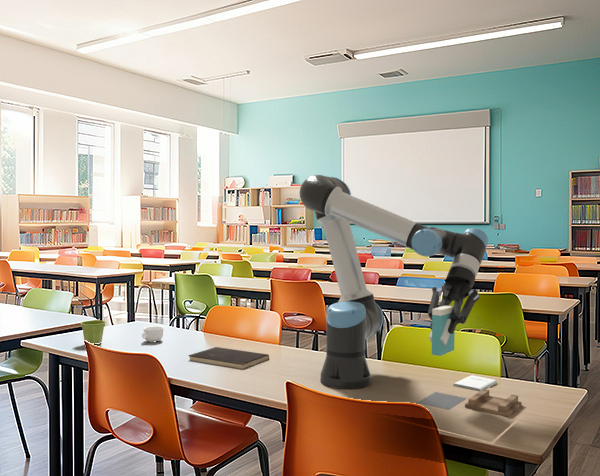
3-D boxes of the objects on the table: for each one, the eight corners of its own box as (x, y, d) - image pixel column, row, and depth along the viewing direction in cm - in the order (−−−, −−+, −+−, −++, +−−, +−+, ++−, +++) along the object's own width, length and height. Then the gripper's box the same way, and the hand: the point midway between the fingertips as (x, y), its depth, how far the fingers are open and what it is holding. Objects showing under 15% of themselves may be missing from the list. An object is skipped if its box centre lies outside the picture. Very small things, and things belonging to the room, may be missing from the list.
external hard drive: (453, 388, 162) (470, 379, 172) (480, 394, 157) (496, 384, 166) (453, 383, 162) (470, 374, 172) (480, 388, 157) (496, 379, 166)
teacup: (153, 338, 227) (153, 325, 227) (167, 340, 224) (167, 327, 224) (135, 343, 219) (135, 329, 219) (149, 345, 215) (149, 331, 215)
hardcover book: (242, 370, 180) (242, 363, 180) (188, 361, 192) (188, 355, 192) (269, 360, 194) (269, 354, 194) (217, 352, 206) (217, 346, 205)
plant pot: (88, 341, 221) (88, 319, 221) (110, 342, 220) (110, 320, 219) (75, 346, 212) (75, 323, 211) (98, 347, 210) (98, 324, 210)
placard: (445, 348, 152) (446, 305, 152) (454, 349, 151) (454, 306, 150) (431, 354, 145) (432, 309, 145) (440, 356, 144) (441, 310, 143)
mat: (435, 393, 156) (435, 391, 156) (466, 399, 150) (466, 398, 150) (416, 403, 146) (416, 402, 146) (449, 411, 141) (449, 409, 141)
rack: (480, 398, 151) (480, 388, 151) (521, 406, 145) (521, 396, 145) (464, 408, 143) (465, 398, 143) (508, 418, 136) (508, 407, 136)
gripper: (492, 284, 155) (469, 353, 142) (440, 280, 164) (414, 345, 152) (486, 266, 150) (462, 336, 138) (433, 263, 160) (405, 328, 147)
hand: (437, 341), depth 145 cm, fingers closed on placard, 2 cm apart
